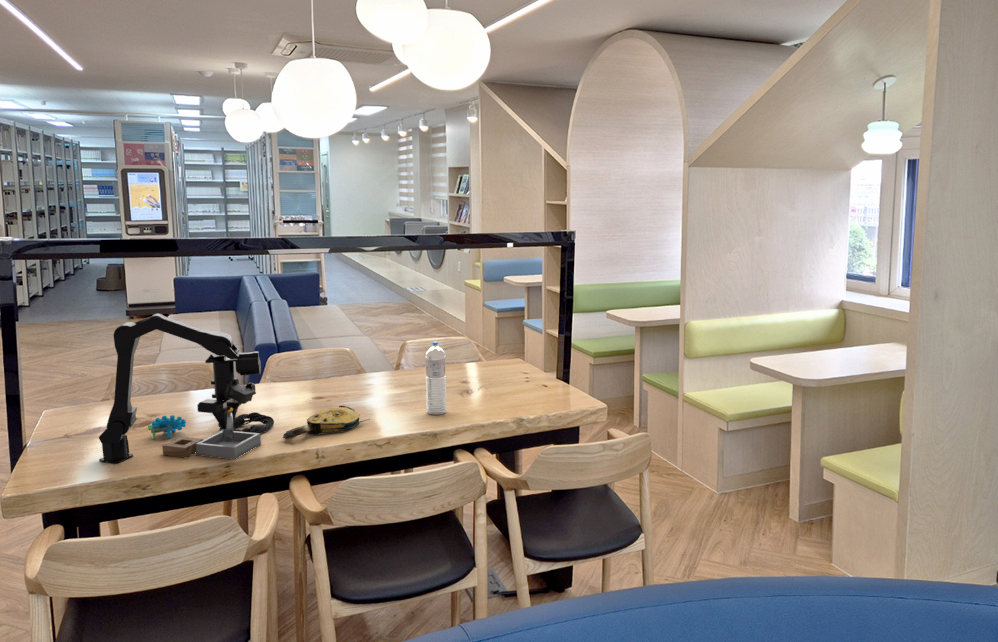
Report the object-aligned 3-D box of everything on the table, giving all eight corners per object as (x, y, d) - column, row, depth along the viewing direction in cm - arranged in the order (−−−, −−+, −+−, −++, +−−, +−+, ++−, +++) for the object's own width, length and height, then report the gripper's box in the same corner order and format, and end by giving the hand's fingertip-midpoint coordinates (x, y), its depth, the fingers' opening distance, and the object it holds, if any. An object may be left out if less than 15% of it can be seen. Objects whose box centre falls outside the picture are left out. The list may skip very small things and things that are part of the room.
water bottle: (431, 408, 261) (429, 339, 256) (449, 410, 259) (448, 340, 254) (423, 414, 254) (421, 343, 250) (441, 416, 252) (440, 344, 248)
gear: (190, 425, 238) (180, 410, 230) (190, 441, 235) (180, 427, 227) (154, 431, 236) (143, 417, 228) (154, 448, 233) (142, 434, 225)
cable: (269, 421, 248) (268, 408, 247) (281, 432, 237) (280, 419, 236) (215, 430, 239) (214, 417, 238) (225, 442, 228) (224, 429, 227)
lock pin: (230, 442, 218) (228, 410, 216) (219, 441, 219) (217, 409, 217) (237, 438, 221) (235, 406, 219) (227, 437, 222) (224, 405, 220)
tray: (235, 459, 212) (234, 447, 212) (196, 455, 216) (195, 443, 215) (261, 444, 225) (260, 433, 224) (224, 440, 228) (223, 429, 228)
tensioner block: (186, 457, 214) (185, 447, 213) (163, 455, 216) (162, 445, 215) (204, 448, 221) (203, 438, 221) (181, 446, 224) (180, 436, 223)
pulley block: (270, 418, 229) (346, 397, 252) (269, 435, 231) (345, 413, 254) (298, 434, 221) (374, 411, 244) (297, 452, 223) (372, 427, 246)
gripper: (228, 386, 205) (232, 439, 208) (266, 370, 223) (269, 420, 226) (194, 383, 208) (198, 436, 211) (234, 368, 226) (237, 417, 229)
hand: (227, 427), depth 219 cm, fingers closed on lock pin, 3 cm apart
